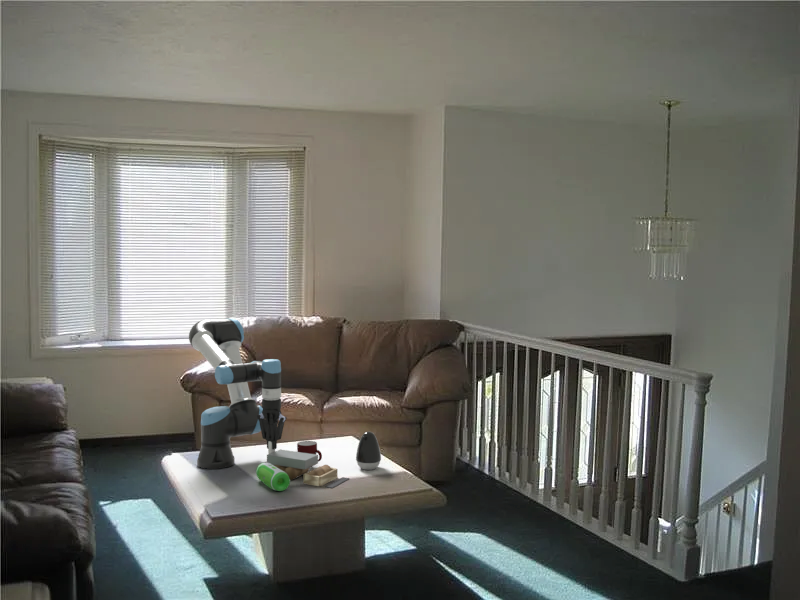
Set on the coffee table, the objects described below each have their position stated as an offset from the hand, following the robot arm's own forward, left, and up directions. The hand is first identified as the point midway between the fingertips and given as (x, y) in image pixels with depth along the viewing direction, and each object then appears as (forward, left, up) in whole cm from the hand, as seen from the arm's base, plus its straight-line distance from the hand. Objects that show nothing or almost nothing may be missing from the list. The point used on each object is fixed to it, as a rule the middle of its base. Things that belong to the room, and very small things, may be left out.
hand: (271, 456), depth 295 cm
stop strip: (+30, 0, -7) cm, 31 cm away
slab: (+10, 0, -2) cm, 10 cm away
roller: (+22, 0, -7) cm, 23 cm away
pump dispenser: (+32, +23, -7) cm, 40 cm away
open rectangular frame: (+23, 0, -7) cm, 24 cm away
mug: (+9, +14, -7) cm, 18 cm away
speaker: (+10, -13, -7) cm, 18 cm away
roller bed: (+6, 0, -7) cm, 9 cm away
